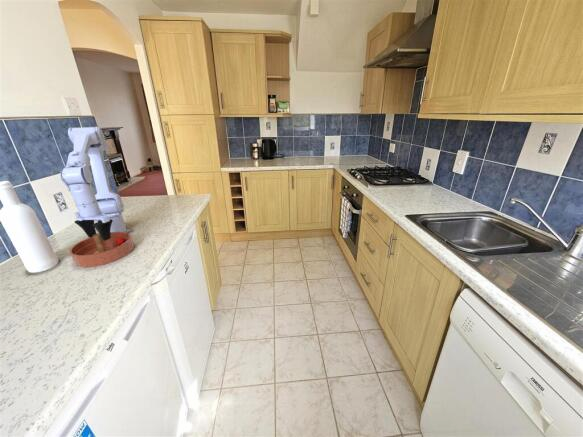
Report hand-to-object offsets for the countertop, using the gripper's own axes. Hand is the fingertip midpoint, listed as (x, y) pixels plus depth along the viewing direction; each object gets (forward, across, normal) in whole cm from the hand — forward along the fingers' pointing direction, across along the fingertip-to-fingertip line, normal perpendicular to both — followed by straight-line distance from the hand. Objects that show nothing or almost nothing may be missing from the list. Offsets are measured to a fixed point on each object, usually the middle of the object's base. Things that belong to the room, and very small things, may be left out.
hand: (99, 237), depth 88 cm
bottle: (+7, -13, -13) cm, 19 cm away
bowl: (+7, 0, 0) cm, 7 cm away
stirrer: (+6, 0, -1) cm, 6 cm away
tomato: (+5, 0, +6) cm, 8 cm away
